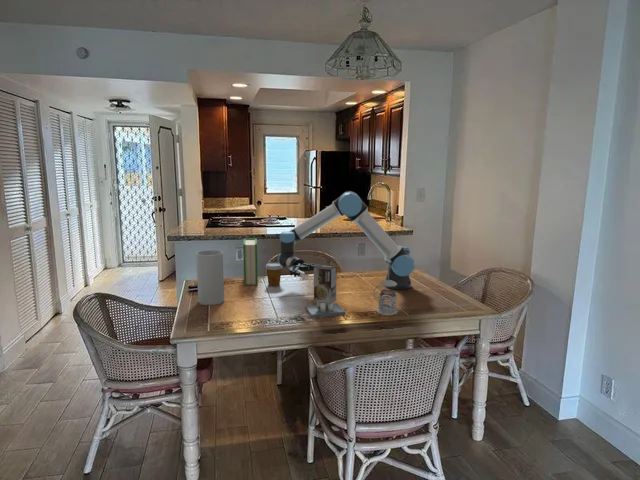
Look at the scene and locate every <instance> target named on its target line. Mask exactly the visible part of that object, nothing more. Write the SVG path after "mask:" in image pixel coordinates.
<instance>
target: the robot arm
mask: <svg viewBox="0 0 640 480" xmlns="http://www.w3.org/2000/svg"><path fill="white" fill-rule="evenodd" d="M343 216H345V217H346V218H347V219H348V220H349V221H350V223H355V224H357V226H358V227H359V228H360V230H361V231H362V232H363V233H364V234H365V235H366V236H367V238H368V239H369V240H370V241H371V242H372V243H373V244H374V246H376V248H378V250H379V251H380V252H381V253H382V255H383V256H384V262H386V263H387V274H386V276H385V278H384V280H388V276H389V280H392V281H394V282H396V283H397V285H396V286H394V287H387V286H384V287H385V288H386V289H389V290H398V291H399V290H402V291H403V290H404V291H405V290H409V289H410V288H411V289H412V280H411V276H410V274H412V272H414V270H415V267H416V266H415V260H414V258H413V257H412V256H411V254H410V253H411V248H410V247H409V246H402V245H397V244H396V242H395V241H394V240H393V239H392V238H391V237H390V235H389V234H388V233H387V232H386V231H385V230H384V228H383V227H382V226H381V225H380V224H379V223H378V222H377V221H376V219H375V218H374V217H373V216H372V215H371V213H370V212H369V207H368V206H367V204H365V202H364V201H363V199H362V198H361V197H360V196H359V195H358V194H357V193H356V192H355V191H351V190H347V191H345V192H343V193H341V195H340V196H338V197H337V198H336V199H335V200H333V201H332V203H331V204H330V205H328V206H327V207H325V208H324V209H322V210H321V211H319V212H317V213H315V215H313V216H312V217H310V218H308V219H307V220H304V221H303V222H302V223H300V224H299V225H297V226H296V227H294V228H293V229H291V230H289V231H288V230H287V231H282V232H281V233H280V238H279V239H280V253H279V254H278V257H277V263H279V264H280V265H281V266H282V268H286V269H288V271H289V276H293V277H294V278H296V277H299V278H301V279H302V280H303V279H305V278H306V273H305V272H312V271H313V272H314V268H315V267H316V266H318V265H319V264H317V263H313V262H310V263H307V262H305V261H304V259H302V258H299V257H297V256H295V252H296V251H295V248H296V247H295V245H296V243H299V242H300V241H301V240H303V239H304V238H306V237H308V236H309V235H310V234H311V235H312V233H314V232H316V231H318V230H319V229H321V228H322V227H324V226H325V225H326V224H327V225H328V223H330V222H332V221H333V220H335V219H336V218H338V217H343ZM388 260H391V263H388V262H387V261H388Z"/></svg>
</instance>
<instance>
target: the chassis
mask: <svg viewBox="0 0 640 480" xmlns="http://www.w3.org/2000/svg"><path fill="white" fill-rule="evenodd" d="M304 307H305V308H304V309H305V311H306V312H307V313H308V315H309V317H310V318H313V319H314V318H326V317H335V316H345V315H346V311H345V310H344V309H343V308H342V306H340V305H339V303H334V302H333V303H324V302H318V301H316V304H314V305H313V304H311V305H305V306H304Z"/></svg>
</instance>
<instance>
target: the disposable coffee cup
mask: <svg viewBox="0 0 640 480" xmlns="http://www.w3.org/2000/svg"><path fill="white" fill-rule="evenodd" d="M265 269H266V270H265V271H266V276H267V282H268V286H269V287H279V286H280V285H281V284H280V283H281V276H282V269H283V266H281V265H280V264H279V263H278V262H269V263H266V265H265Z"/></svg>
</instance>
